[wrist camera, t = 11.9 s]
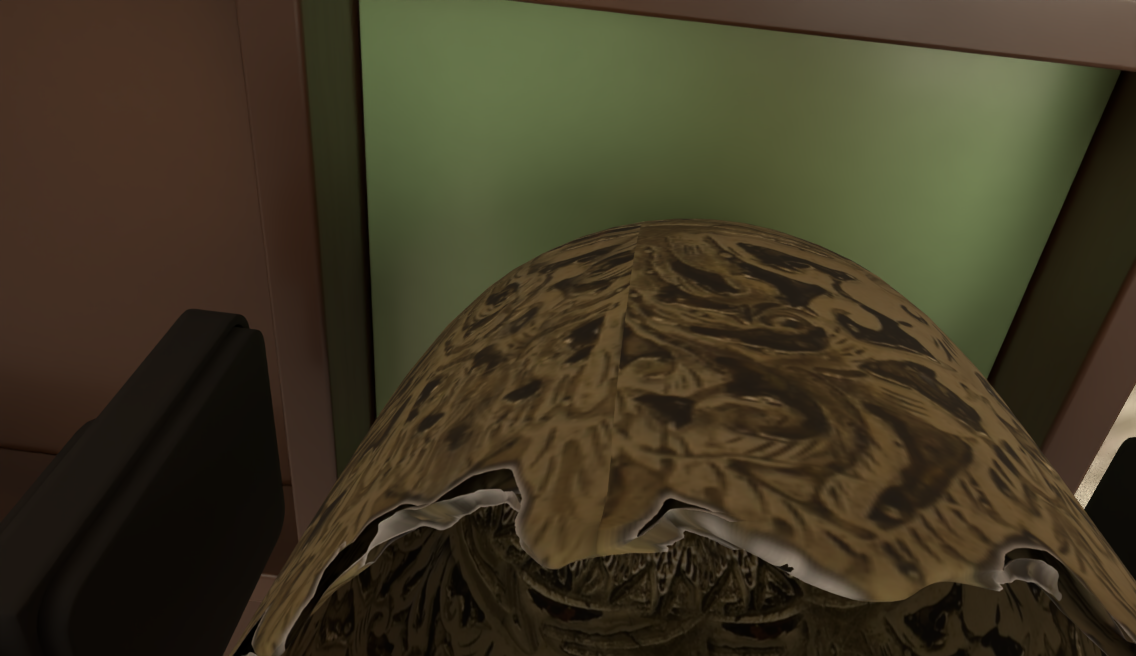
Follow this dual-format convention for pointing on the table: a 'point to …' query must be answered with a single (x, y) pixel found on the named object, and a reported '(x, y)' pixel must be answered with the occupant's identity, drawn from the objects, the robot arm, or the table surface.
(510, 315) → the cup
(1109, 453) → the table surface
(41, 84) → the grid
